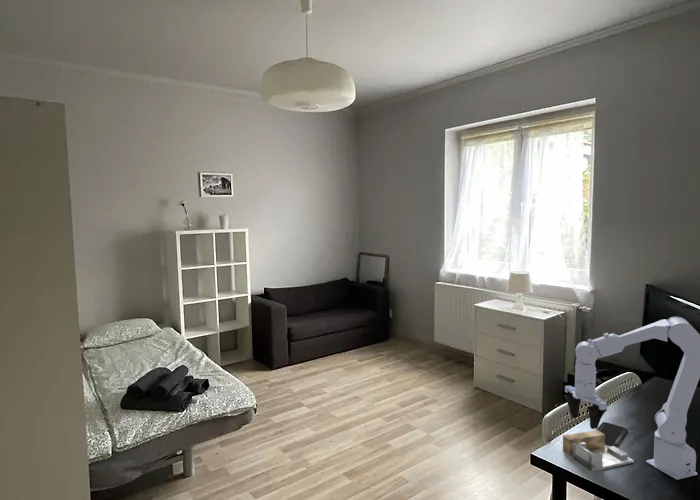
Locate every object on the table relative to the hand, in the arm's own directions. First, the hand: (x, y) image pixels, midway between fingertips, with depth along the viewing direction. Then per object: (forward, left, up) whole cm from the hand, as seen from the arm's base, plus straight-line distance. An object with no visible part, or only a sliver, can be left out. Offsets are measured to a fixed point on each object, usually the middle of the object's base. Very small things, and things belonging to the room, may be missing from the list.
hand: (584, 422), depth 137 cm
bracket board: (-7, -2, -9) cm, 11 cm away
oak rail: (0, 0, -9) cm, 9 cm away
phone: (+5, -16, -9) cm, 19 cm away
